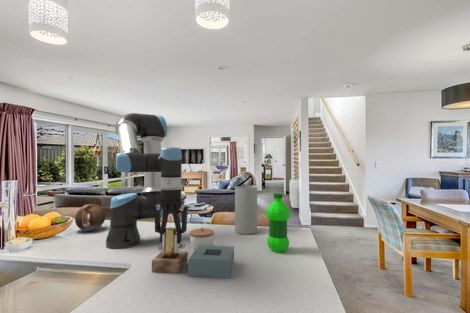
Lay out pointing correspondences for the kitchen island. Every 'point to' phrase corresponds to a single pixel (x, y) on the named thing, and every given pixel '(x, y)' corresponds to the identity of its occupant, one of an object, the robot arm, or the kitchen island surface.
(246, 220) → the cylinder vase
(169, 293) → the kitchen island surface
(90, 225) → the wooden sphere
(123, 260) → the kitchen island surface
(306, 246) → the kitchen island surface
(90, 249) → the kitchen island surface
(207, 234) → the lidded jar
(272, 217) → the plastic bottle
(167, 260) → the block
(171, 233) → the brass pin
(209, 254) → the dock socket
